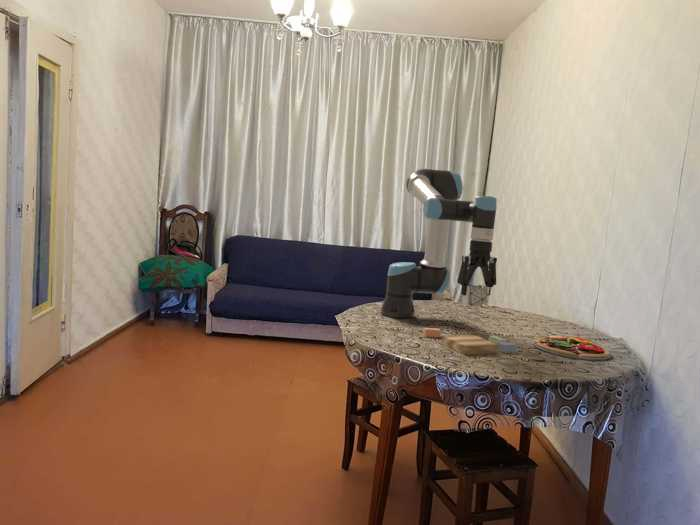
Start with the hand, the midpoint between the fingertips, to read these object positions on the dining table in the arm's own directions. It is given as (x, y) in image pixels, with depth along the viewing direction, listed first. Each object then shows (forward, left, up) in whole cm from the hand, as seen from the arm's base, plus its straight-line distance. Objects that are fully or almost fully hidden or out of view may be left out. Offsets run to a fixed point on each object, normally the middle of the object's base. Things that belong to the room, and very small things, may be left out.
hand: (474, 304), depth 203 cm
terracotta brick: (-17, -5, -16) cm, 24 cm away
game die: (0, 0, -1) cm, 1 cm away
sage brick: (-2, +14, -16) cm, 21 cm away
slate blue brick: (+6, +12, -16) cm, 21 cm away
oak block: (+1, -1, -16) cm, 16 cm away
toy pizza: (+8, +41, -17) cm, 45 cm away
